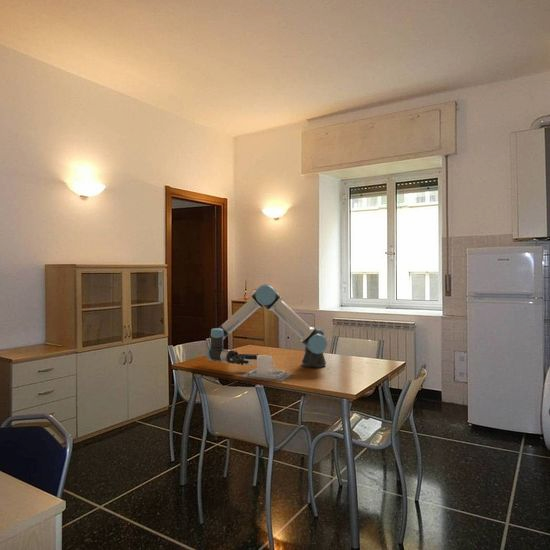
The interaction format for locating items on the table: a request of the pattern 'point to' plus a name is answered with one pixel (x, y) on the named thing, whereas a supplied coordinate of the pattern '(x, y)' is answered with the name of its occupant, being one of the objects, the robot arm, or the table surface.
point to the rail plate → (275, 376)
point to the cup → (265, 364)
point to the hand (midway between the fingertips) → (260, 360)
